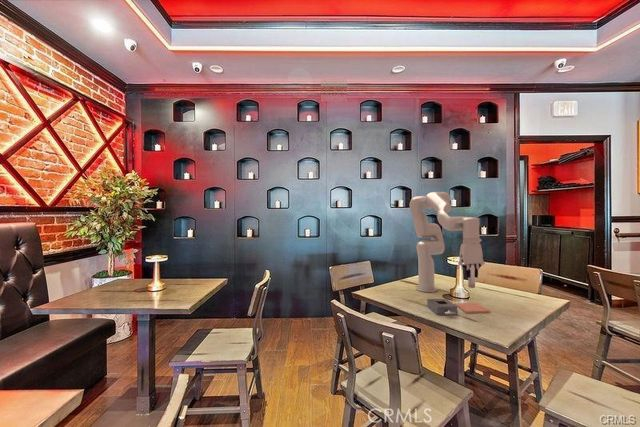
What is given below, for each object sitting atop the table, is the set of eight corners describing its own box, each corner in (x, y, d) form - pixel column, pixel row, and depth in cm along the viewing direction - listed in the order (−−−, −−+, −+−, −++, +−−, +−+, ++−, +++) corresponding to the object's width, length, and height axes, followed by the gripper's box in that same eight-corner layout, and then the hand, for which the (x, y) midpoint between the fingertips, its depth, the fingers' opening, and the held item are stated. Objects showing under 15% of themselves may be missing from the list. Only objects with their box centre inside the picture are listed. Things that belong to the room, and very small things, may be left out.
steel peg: (467, 286, 148) (466, 263, 148) (473, 286, 148) (472, 263, 148) (470, 288, 145) (470, 264, 145) (476, 287, 145) (476, 264, 145)
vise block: (427, 306, 152) (427, 299, 152) (445, 306, 152) (445, 298, 152) (440, 317, 136) (440, 309, 136) (461, 317, 136) (461, 309, 136)
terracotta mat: (454, 305, 153) (454, 303, 153) (476, 304, 153) (476, 302, 153) (466, 313, 141) (466, 311, 141) (490, 312, 141) (490, 310, 141)
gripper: (482, 240, 150) (483, 275, 151) (451, 241, 150) (452, 276, 150) (491, 241, 143) (491, 278, 143) (458, 242, 143) (459, 279, 143)
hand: (471, 276), depth 147 cm, fingers closed on steel peg, 3 cm apart
